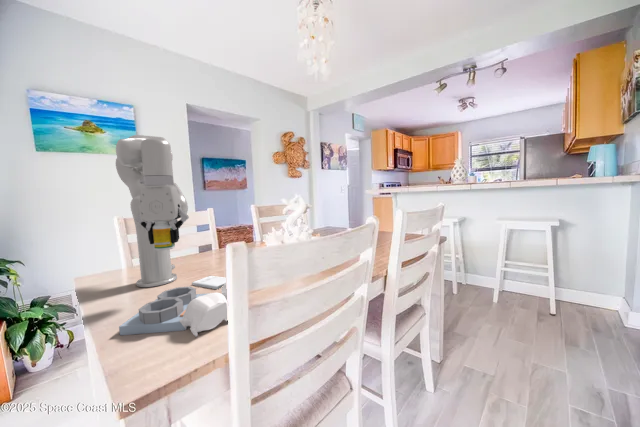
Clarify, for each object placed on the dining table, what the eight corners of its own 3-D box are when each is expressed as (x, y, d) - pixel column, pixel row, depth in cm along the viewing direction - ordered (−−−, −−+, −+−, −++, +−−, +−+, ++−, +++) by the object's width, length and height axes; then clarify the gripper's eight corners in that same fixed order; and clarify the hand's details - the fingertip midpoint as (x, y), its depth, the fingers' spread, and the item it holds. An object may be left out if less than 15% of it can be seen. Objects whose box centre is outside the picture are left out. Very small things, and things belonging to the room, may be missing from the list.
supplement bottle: (155, 248, 81) (152, 217, 80) (175, 246, 84) (172, 216, 83) (154, 251, 77) (151, 218, 76) (175, 249, 79) (172, 217, 78)
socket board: (160, 303, 76) (159, 288, 75) (210, 300, 77) (209, 284, 76) (119, 335, 59) (117, 315, 58) (185, 330, 60) (183, 310, 59)
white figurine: (206, 351, 57) (257, 303, 67) (189, 323, 54) (245, 277, 64) (187, 336, 63) (237, 294, 73) (171, 310, 59) (225, 269, 69)
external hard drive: (217, 291, 85) (192, 286, 91) (236, 283, 92) (211, 279, 98) (217, 286, 85) (191, 281, 91) (236, 278, 92) (211, 274, 98)
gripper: (120, 183, 74) (126, 246, 76) (183, 181, 75) (188, 244, 77) (136, 183, 82) (142, 241, 83) (194, 182, 83) (198, 239, 85)
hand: (164, 242), depth 80 cm, fingers closed on supplement bottle, 5 cm apart
